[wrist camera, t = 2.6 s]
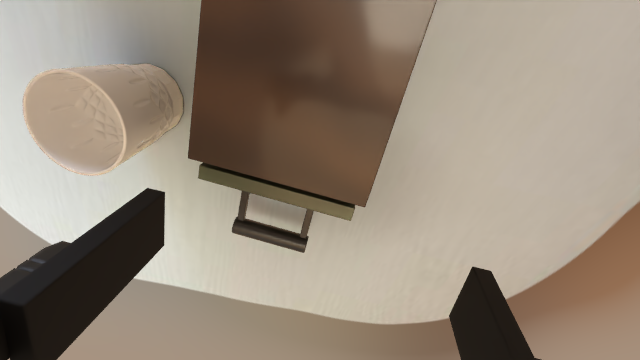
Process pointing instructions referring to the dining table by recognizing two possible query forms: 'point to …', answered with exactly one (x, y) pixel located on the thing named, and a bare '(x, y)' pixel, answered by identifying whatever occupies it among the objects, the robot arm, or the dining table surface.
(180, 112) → the white cup
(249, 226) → the drawer
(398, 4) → the cabinet
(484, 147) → the dining table surface
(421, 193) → the dining table surface
